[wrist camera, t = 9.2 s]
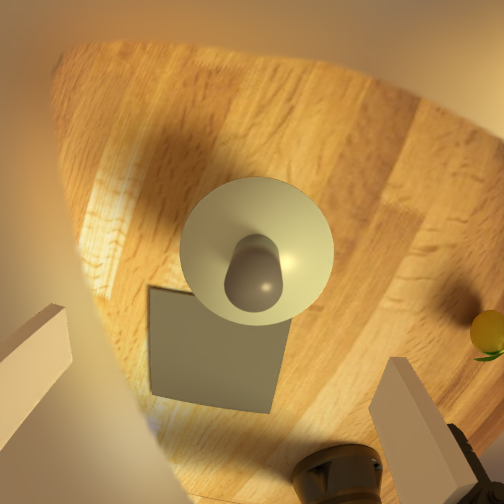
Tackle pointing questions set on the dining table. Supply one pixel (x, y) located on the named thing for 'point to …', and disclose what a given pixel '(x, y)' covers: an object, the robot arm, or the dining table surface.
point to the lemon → (488, 334)
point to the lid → (256, 251)
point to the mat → (212, 355)
